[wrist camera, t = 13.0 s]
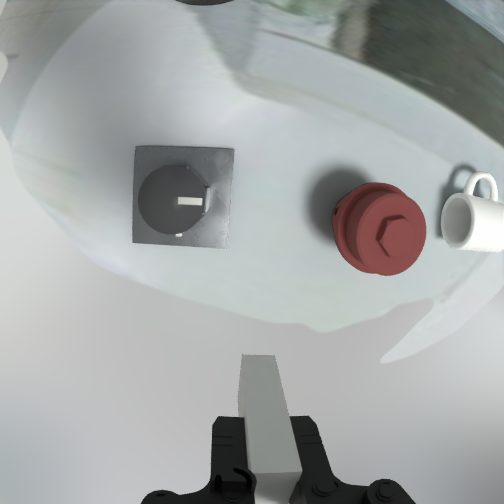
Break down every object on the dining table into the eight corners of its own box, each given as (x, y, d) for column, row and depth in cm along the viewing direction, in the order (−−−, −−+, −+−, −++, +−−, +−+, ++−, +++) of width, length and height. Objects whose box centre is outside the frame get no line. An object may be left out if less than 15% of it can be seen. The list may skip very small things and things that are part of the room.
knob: (150, 224, 36) (136, 233, 30) (153, 166, 35) (139, 164, 29) (207, 227, 37) (203, 236, 31) (211, 168, 35) (207, 166, 29)
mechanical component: (397, 222, 39) (345, 269, 41) (358, 164, 37) (301, 212, 38) (451, 243, 28) (385, 306, 29) (408, 164, 25) (332, 232, 26)
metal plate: (138, 146, 35) (125, 144, 30) (234, 150, 36) (234, 146, 31) (134, 241, 38) (122, 251, 33) (227, 246, 39) (226, 257, 34)
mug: (476, 245, 42) (507, 258, 34) (436, 241, 41) (468, 255, 33) (485, 175, 39) (519, 180, 31) (445, 163, 38) (480, 165, 30)
